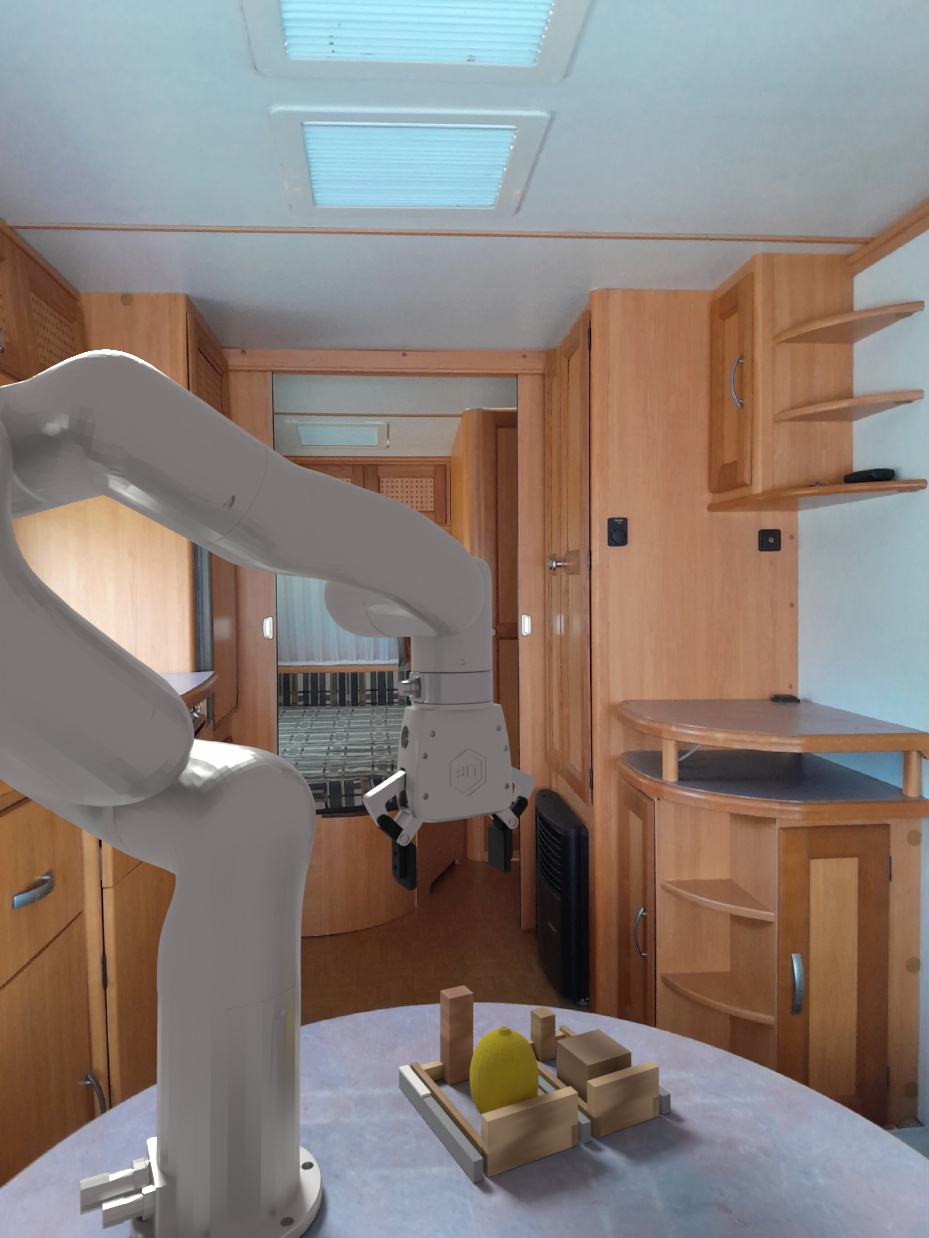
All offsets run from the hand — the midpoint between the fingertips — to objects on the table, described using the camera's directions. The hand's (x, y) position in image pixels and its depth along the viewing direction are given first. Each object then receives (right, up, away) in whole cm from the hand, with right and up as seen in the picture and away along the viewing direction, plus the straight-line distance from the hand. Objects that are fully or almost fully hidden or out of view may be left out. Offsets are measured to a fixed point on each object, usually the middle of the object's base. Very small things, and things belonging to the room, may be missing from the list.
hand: (454, 877), depth 73 cm
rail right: (+15, -17, -2) cm, 23 cm away
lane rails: (+3, -17, -7) cm, 19 cm away
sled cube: (+11, -17, -3) cm, 21 cm away
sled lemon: (+3, -17, -7) cm, 19 cm away
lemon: (+4, -17, -9) cm, 20 cm away
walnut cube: (+12, -17, -5) cm, 22 cm away
